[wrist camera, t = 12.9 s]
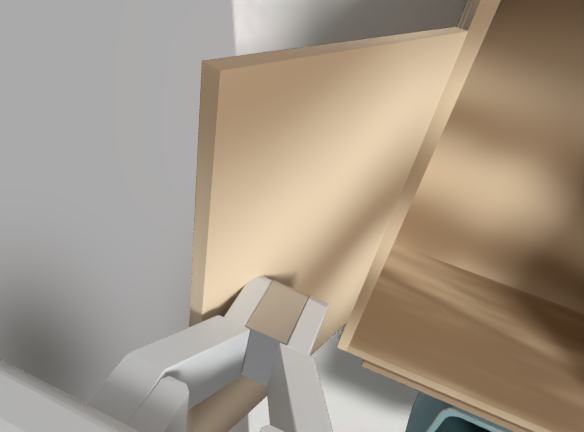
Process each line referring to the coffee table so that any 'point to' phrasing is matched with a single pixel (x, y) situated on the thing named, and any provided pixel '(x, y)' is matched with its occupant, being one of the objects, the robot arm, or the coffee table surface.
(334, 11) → the coffee table surface
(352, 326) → the open wooden box
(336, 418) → the coffee table surface
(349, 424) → the coffee table surface
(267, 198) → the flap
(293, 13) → the coffee table surface
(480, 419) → the flower pot
